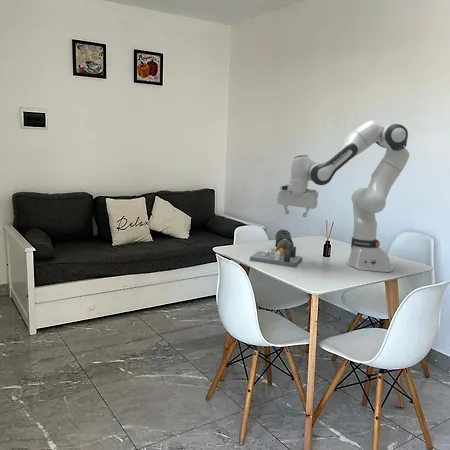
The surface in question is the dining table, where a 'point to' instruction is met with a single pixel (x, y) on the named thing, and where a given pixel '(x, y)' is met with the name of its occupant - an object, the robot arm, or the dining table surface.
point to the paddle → (281, 252)
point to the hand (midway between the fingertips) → (295, 215)
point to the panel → (271, 260)
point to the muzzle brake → (283, 240)
